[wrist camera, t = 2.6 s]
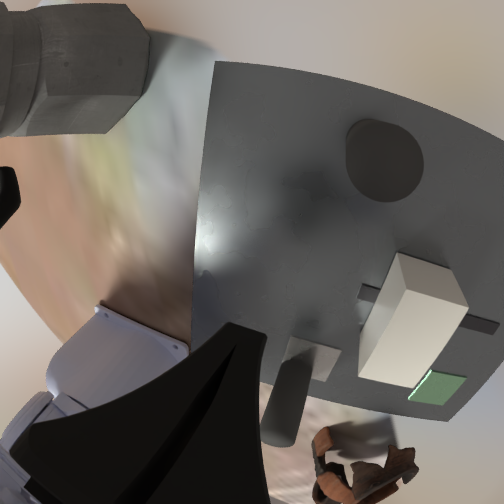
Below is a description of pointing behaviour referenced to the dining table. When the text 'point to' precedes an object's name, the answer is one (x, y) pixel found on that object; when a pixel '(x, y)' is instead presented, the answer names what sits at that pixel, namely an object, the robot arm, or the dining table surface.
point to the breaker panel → (342, 233)
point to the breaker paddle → (410, 322)
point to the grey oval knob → (286, 404)
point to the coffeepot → (66, 74)
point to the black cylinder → (383, 160)
